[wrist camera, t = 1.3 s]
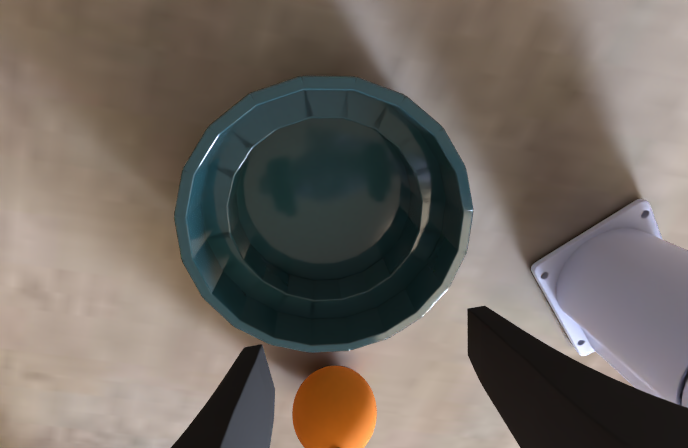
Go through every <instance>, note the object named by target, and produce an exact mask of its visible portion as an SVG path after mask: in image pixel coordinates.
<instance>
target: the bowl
mask: <svg viewBox="0 0 688 448" xmlns="http://www.w3.org/2000/svg"><path fill="white" fill-rule="evenodd" d="M472 217H473V205H472V199H471V193H470V188H469V182H468V176H467V171H466V168H465V165H464V163H463V161H462V159H461V158H460V156H459V154H458V152H457V151H456V149H455V147H454V145H453V144H452V142H451V140H450V138H449V137H448V135H447V133H446V131H445V130H444V128H443V127H442V126H441V125H440V124H439V123H438V122H437V121H435V120H434V119H433V118H432V117H431V116H430V115H428V114H427V113H426V112H425V111H424V110H422V109H421V108H420V107H419V106H418V105H417V104H415V103H414V102H413V101H412V100H411V99H410V98H408V97H407V96H405V95H404V94H402V93H399V92H396V91H394V90H391V89H388V88H386V87H383V86H380V85H378V84H375V83H372V82H370V81H367V80H364V79H362V78H359V77H355V76H302V77H301V76H299V77H296V78H293V79H290V80H287V81H284V82H281V83H278V84H275V85H272V86H269V87H266V88H263V89H260V90H257V91H254V92H251V93H250V94H248V95H247V96H245V97H244V98H243V99H242V100H240V101H239V102H238V103H237V104H235V105H234V106H233V107H232V108H230V109H229V110H228V111H227V112H225V113H224V114H223V115H222V116H220V117H219V118H218V119H217V120H215V121H214V122H213V123H212V124H210V125H209V127H208V128H207V129H206V131H205V132H204V134H203V136H202V137H201V139H200V141H199V142H198V144H197V146H196V147H195V149H194V151H193V152H192V154H191V156H190V157H189V159H188V161H187V162H186V164H185V166H184V167H183V170H182V174H181V179H180V185H179V190H178V196H177V201H176V207H175V212H174V220H175V226H176V231H177V237H178V242H179V248H180V254H181V259H182V262H183V264H184V266H185V267H186V269H187V271H188V273H189V274H190V276H191V278H192V280H193V282H194V283H195V285H196V287H197V289H198V290H199V292H200V294H201V296H202V297H203V298H204V300H206V301H207V302H208V303H209V304H210V305H211V306H212V307H213V308H214V309H215V310H216V311H217V312H218V313H220V314H221V315H222V316H223V317H224V318H225V319H226V320H227V321H228V322H229V323H230V324H231V325H232V326H234V327H236V328H238V329H240V330H242V331H244V332H246V333H248V334H250V335H252V336H254V337H256V338H258V339H260V340H262V341H264V342H266V343H268V344H271V345H274V346H279V347H284V348H288V349H293V350H298V351H303V352H308V353H309V352H310V353H315V352H333V351H349V350H353V349H357V348H360V347H363V346H366V345H369V344H372V343H376V342H379V341H382V340H385V339H388V338H390V337H391V336H393V335H395V334H396V333H398V332H399V331H401V330H403V329H404V328H406V327H407V326H409V325H411V324H412V323H414V322H415V321H417V320H419V319H420V318H421V317H423V316H424V315H425V314H426V312H427V311H428V310H429V309H430V308H431V307H432V306H433V305H434V304H435V303H436V302H437V301H438V299H439V298H440V297H441V296H442V295H443V294H444V293H445V292H446V291H447V290H448V288H449V287H450V285H451V283H452V281H453V279H454V277H455V275H456V273H457V271H458V269H459V267H460V265H461V263H462V261H463V259H464V257H465V255H466V253H467V249H468V243H469V236H470V230H471V223H472Z"/></svg>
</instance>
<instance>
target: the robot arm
mask: <svg viewBox="0 0 688 448" xmlns="http://www.w3.org/2000/svg"><path fill="white" fill-rule="evenodd" d="M642 212H643V213H642ZM531 272H532V273H533V275H534V277H535V279H536V281H537V282H538V284H539V286H540V288H541V289H542V291H543V293H544V295H545V297H546V298H547V300H548V302H549V304H550V305H551V307H552V309H553V311H554V313H555V314H556V316H557V318H558V320H559V322H560V323H561V325H562V327H563V329H564V330H565V332H566V334H567V336H568V338H569V339H570V341H571V343H572V345H573V346H574V348H575V350H576V351H577V352H578V353H579V354H580V355H581V356H586V355H588V354H590V353H592V352H593V351H596V352H597V353H598V354H599V355H600V356H601V357H602V358H603V359H604V360H606V361H607V362H608V363H609V364H610V365H611V366H612V367H613V368H614V369H615V370H616V371H618V372H619V373H620V374H621V375H622V376H623V377H624V378H625V379H626V380H627V381H628V382H630V383H631V384H632V385H633V386H634V387H635V388H634V387H632V386H629V385H627V384H624V383H622V382H620V381H617V380H615V379H613V378H611V377H608V376H606V375H604V374H602V373H600V372H598V371H596V370H594V369H592V368H589V367H587V366H585V365H583V364H581V363H579V362H577V361H575V360H574V359H572V358H570V357H568V356H566V355H564V354H563V353H561V352H559V351H557V350H555V349H553V348H552V347H550V346H548V345H547V344H545V343H543V342H541V341H540V340H538V339H536V338H535V337H533V336H532V335H530V334H528V333H527V332H525V331H523V330H522V329H520V328H519V327H517V326H516V325H514V324H512V323H511V322H509V321H508V320H506V319H505V318H503V317H502V316H500V315H498V314H497V313H495V312H494V311H492V310H491V309H489V308H487V307H486V306H481V307H475V308H469V309H468V356H469V358H470V361H471V363H472V365H473V367H474V370H475V372H476V374H477V376H478V378H479V380H480V382H481V384H482V386H483V387H484V389H485V391H486V392H487V394H488V396H489V397H490V399H491V401H492V402H493V404H494V405H495V407H496V409H497V410H498V412H499V414H500V415H501V417H502V418H503V420H504V422H505V423H506V425H507V427H508V428H509V430H510V431H511V433H512V435H513V436H514V438H515V440H516V441H517V443H518V444H519V446H520V448H688V250H686V249H684V248H681V247H679V246H677V245H674V244H672V243H670V242H667V241H665V240H663V239H662V237H661V234H660V231H659V228H658V225H657V223H656V220H655V217H654V214H653V211H652V209H651V206H650V203H649V202H648V201H646V200H643V199H637V200H635V201H634V202H632V203H630V204H629V205H627V206H626V207H624V208H622V209H621V210H619V211H617V212H616V213H614V214H613V215H611V216H609V217H608V218H606V219H605V220H603V221H601V222H600V223H598V224H596V225H595V226H593V227H592V228H590V229H588V230H587V231H585V232H584V233H582V234H580V235H579V236H577V237H575V238H574V239H572V240H571V241H569V242H567V243H566V244H564V245H563V246H561V247H559V248H558V249H556V250H554V251H553V252H551V253H550V254H548V255H546V256H545V257H543V258H541V259H540V260H538V261H537V262H535V263H534V264H533V265H532V267H531ZM543 272H544V274H543V275H542V276H541V274H542V273H543ZM274 402H275V388H274V384H273V381H272V377H271V374H270V370H269V367H268V363H267V360H266V356H265V353H264V349H263V346H262V345H256V346H250V347H244V349H243V350H242V351H241V353H240V354H239V356H238V357H237V359H236V361H235V362H234V364H233V365H232V367H231V368H230V370H229V371H228V373H227V374H226V376H225V377H224V379H223V380H222V382H221V383H220V385H219V386H218V388H217V389H216V390H215V392H214V393H213V395H212V396H211V398H210V399H209V400H208V402H207V403H206V404H205V406H204V407H203V408H202V410H201V411H200V412H199V414H198V415H197V416H196V418H195V419H194V420H193V422H192V423H191V424H190V425H189V427H188V428H187V429H186V430H185V432H184V433H183V434H182V435H181V436H180V438H179V439H178V440H177V441H176V442H175V444H174V445H173V446H172V447H171V448H270V442H271V435H272V428H273V421H274Z"/></svg>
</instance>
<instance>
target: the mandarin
mask: <svg viewBox="0 0 688 448" xmlns="http://www.w3.org/2000/svg"><path fill="white" fill-rule="evenodd" d="M292 415H293V425H294V429H295V432H296V435H297V437H298V439H299V440H300V442H301V444H302V445H303V446H304V447H305V448H364V447H365V445H366V444H367V443H368V441H369V439H370V438H371V436H372V434H373V431H374V428H375V423H376V415H377V409H376V402H375V398H374V395H373V392H372V390H371V388H370V386H369V385H368V383H367V382H366V381H365V379H364V378H363V377H362V376H360V375H359V374H358V373H357V372H355V371H353V370H352V369H349V368H347V367H343V366H327V367H324V368H321V369H319V370H317V371H315V372H313V373H312V374H311V375H309V376H308V377H307V378H306V379H305V380H304V382H303V383H302V384H301V386H300V388H299V389H298V391H297V394H296V396H295V400H294V404H293V412H292Z"/></svg>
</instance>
